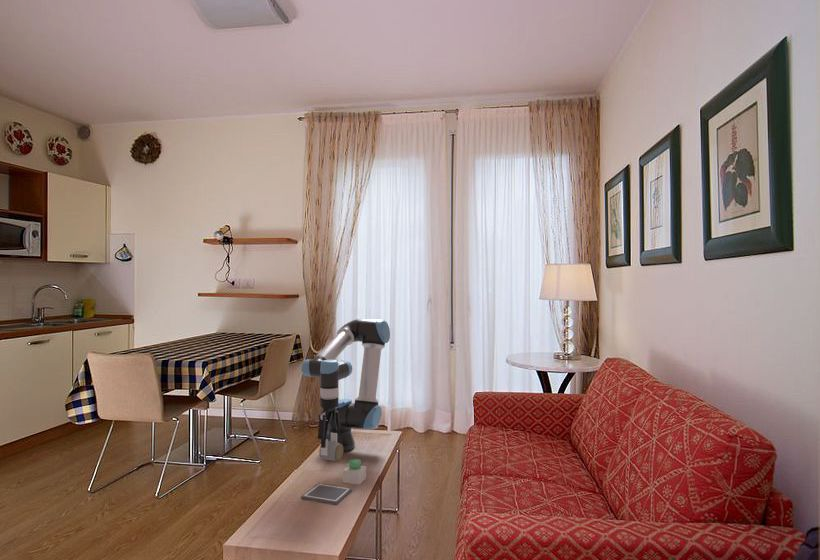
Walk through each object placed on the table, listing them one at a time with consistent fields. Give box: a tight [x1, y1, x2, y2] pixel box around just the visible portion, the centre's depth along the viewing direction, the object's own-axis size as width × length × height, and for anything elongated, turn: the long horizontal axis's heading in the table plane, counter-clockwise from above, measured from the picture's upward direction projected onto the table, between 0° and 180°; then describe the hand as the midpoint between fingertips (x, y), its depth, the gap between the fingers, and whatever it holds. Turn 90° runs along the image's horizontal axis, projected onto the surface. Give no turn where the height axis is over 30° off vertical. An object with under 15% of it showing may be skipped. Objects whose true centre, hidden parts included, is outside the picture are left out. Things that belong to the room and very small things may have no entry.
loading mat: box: [300, 482, 353, 505], centre depth 186 cm, size 13×15×1 cm
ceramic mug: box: [318, 441, 344, 462], centre depth 205 cm, size 11×8×8 cm
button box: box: [342, 465, 367, 486], centre depth 200 cm, size 7×7×5 cm
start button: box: [348, 458, 362, 468], centre depth 200 cm, size 5×5×2 cm
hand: (329, 451), depth 204 cm, fingers closed on ceramic mug, 8 cm apart
